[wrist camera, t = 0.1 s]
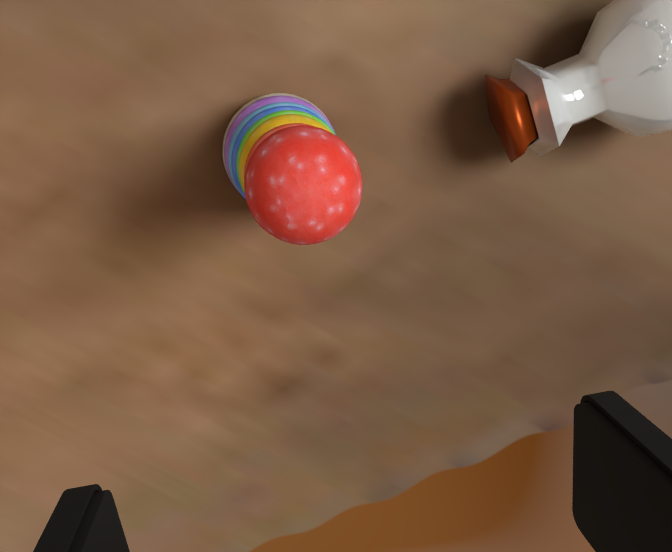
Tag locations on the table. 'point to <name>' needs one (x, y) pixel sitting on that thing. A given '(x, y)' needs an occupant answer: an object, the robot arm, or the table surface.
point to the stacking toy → (292, 169)
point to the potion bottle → (592, 82)
